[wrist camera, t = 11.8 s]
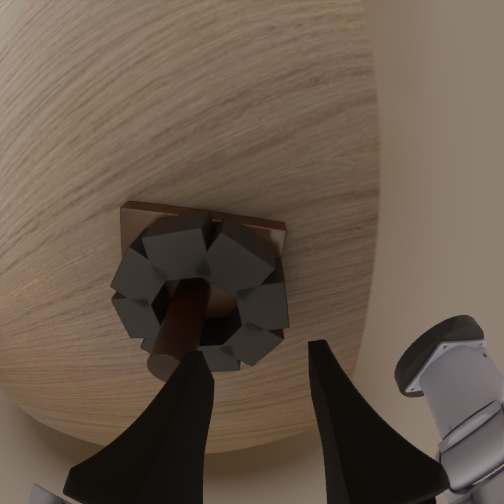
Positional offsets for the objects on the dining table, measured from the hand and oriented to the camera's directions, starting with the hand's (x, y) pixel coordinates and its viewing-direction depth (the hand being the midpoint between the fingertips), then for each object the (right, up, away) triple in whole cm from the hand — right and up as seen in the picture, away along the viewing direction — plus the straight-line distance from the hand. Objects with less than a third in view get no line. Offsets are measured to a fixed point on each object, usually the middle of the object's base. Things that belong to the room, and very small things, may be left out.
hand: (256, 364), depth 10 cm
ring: (-3, +2, +5) cm, 7 cm away
